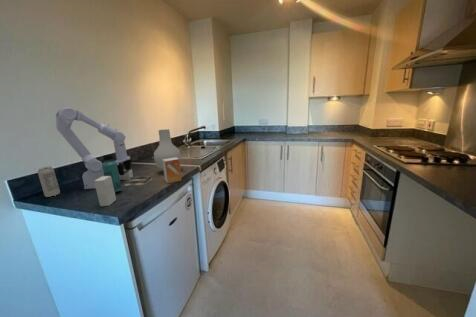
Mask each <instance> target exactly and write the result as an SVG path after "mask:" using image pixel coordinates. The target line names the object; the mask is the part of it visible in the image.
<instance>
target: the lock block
mask: <svg viewBox="0 0 476 317" xmlns="http://www.w3.org/2000/svg"><path fill="white" fill-rule="evenodd" d="M119 177H120V181H130V180H131V179H130V177H134V174H133V169H131V168H130V169H124V175H119Z"/></svg>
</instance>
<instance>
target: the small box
mask: <svg viewBox="0 0 476 317" xmlns="http://www.w3.org/2000/svg"><path fill="white" fill-rule="evenodd" d="M162 162H163V169H164V170H163V176H164V182H166V183H167V184H171V183H177V182H181V181H182V180H183V179H182V173H181V172H182V171H181V164H180V163H181V160H180V161H179V159H178V158H177V157H174V158H168V159H162Z"/></svg>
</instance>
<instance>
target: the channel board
mask: <svg viewBox="0 0 476 317" xmlns="http://www.w3.org/2000/svg"><path fill="white" fill-rule="evenodd" d="M152 177H153V176H152V175H143V176H141V175H139V176H133V177H130V180H123V182H124V183H123V185H124V187H131V186H132V187H134V186H135V187H136V186H147V185H148V184H149V183H150V182H151V181H152V180H153V178H152Z"/></svg>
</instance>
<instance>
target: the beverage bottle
mask: <svg viewBox="0 0 476 317" xmlns="http://www.w3.org/2000/svg"><path fill="white" fill-rule="evenodd" d="M102 157H103V158H102V159H103V161H104V162H102V169H103V174H104V176H111V178H112V183H113V187H114V192H115V193H117V192H119V191H121V190H122V183H121V180H120V177H119V173H118V168H117V163H116V162H115V161H116V160H114V156H113V154H110V153H109V154H105V155H104V154H103V156H102Z"/></svg>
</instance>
